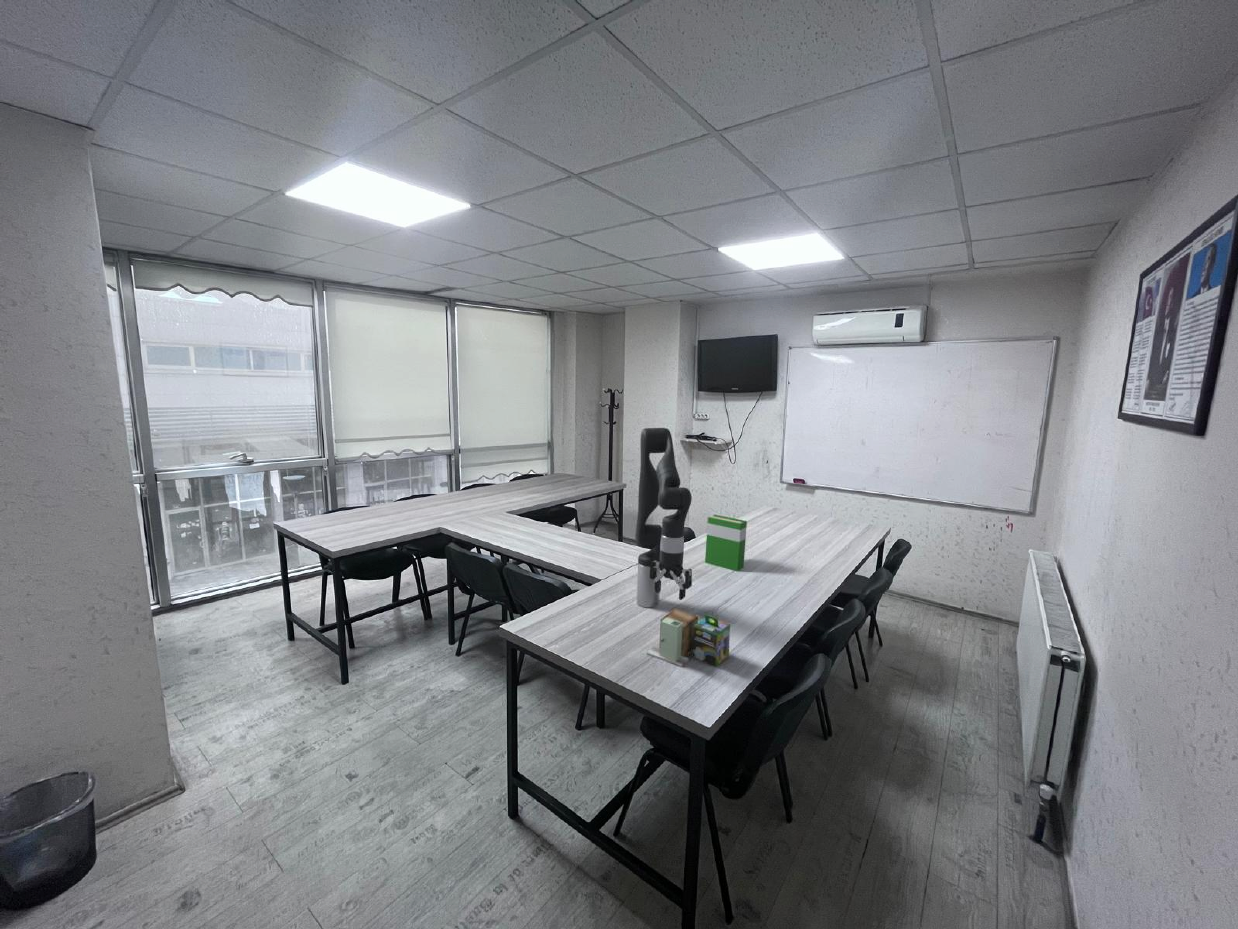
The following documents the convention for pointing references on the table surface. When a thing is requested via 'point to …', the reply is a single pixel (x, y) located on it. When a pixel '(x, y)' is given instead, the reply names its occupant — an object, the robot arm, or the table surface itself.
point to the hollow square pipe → (671, 639)
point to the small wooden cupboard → (687, 636)
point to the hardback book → (726, 542)
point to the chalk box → (711, 640)
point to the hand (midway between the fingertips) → (669, 595)
